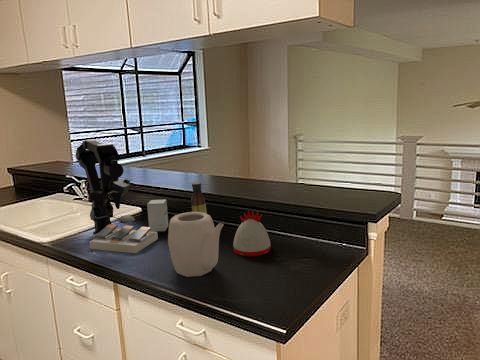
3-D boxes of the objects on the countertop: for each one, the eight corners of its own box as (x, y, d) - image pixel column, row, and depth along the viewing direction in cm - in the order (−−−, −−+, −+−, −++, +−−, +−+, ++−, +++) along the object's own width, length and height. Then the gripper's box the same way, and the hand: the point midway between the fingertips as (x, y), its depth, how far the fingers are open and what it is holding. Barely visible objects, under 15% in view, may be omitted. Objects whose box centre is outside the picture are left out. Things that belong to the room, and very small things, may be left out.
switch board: (88, 248, 159) (87, 238, 159) (113, 235, 174) (112, 225, 173) (137, 253, 152) (136, 242, 151) (159, 239, 166) (159, 229, 166)
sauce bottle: (208, 224, 183) (206, 181, 180) (206, 228, 177) (203, 184, 173) (194, 224, 184) (191, 181, 180) (191, 228, 178) (188, 184, 174)
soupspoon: (125, 225, 191) (137, 223, 195) (125, 219, 190) (137, 216, 195) (101, 216, 205) (113, 214, 210) (101, 210, 205) (113, 207, 209)
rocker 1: (96, 238, 162) (95, 235, 161) (109, 227, 170) (108, 224, 169) (105, 239, 160) (104, 236, 160) (118, 228, 168) (117, 224, 168)
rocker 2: (113, 240, 159) (112, 236, 159) (125, 228, 167) (124, 225, 166) (122, 241, 158) (121, 237, 157) (134, 229, 165) (133, 225, 165)
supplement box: (165, 231, 176) (163, 203, 174) (149, 231, 177) (146, 203, 174) (169, 226, 184) (166, 199, 181) (152, 226, 184) (150, 199, 181)
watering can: (207, 292, 119) (203, 230, 115) (154, 269, 137) (149, 215, 133) (243, 273, 130) (240, 217, 126) (189, 255, 148) (185, 205, 144)
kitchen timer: (267, 256, 143) (266, 216, 140) (230, 255, 146) (227, 215, 143) (272, 243, 156) (271, 205, 153) (237, 242, 159) (236, 205, 156)
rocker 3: (130, 241, 157) (129, 238, 156) (142, 230, 164) (141, 226, 164) (140, 242, 155) (139, 238, 154) (151, 230, 163) (151, 227, 162)
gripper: (110, 180, 152) (114, 219, 155) (137, 170, 170) (140, 206, 173) (86, 179, 156) (90, 218, 159) (115, 170, 173) (118, 205, 176)
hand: (111, 211), depth 167 cm, fingers open, 8 cm apart
